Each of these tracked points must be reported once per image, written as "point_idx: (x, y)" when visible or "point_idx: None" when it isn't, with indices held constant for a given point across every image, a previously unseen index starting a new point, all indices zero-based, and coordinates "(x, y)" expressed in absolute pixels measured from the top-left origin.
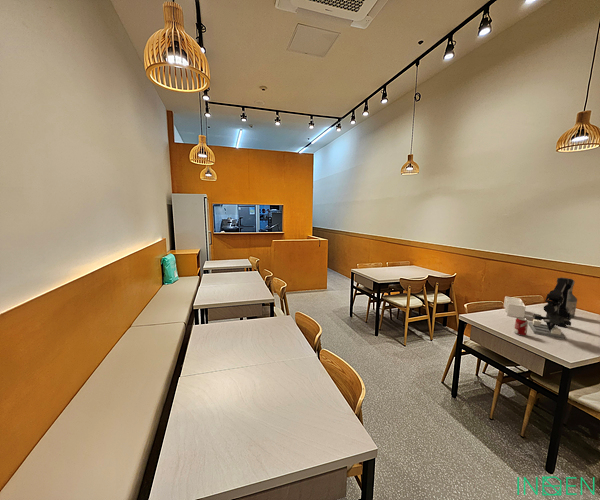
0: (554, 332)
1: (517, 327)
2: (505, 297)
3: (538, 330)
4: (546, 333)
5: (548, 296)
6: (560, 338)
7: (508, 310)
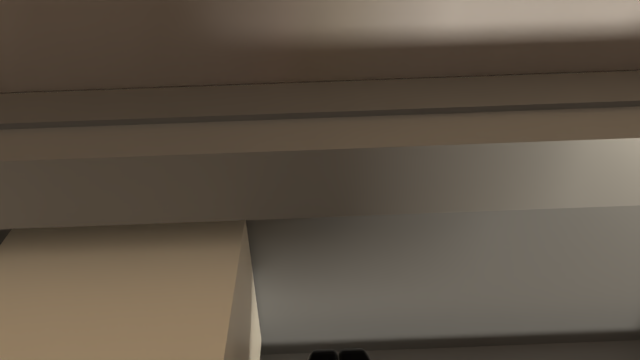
0: (183, 287)
1: None
2: None
3: (596, 311)
4: (473, 127)
5: None
6: (28, 97)
7: None
